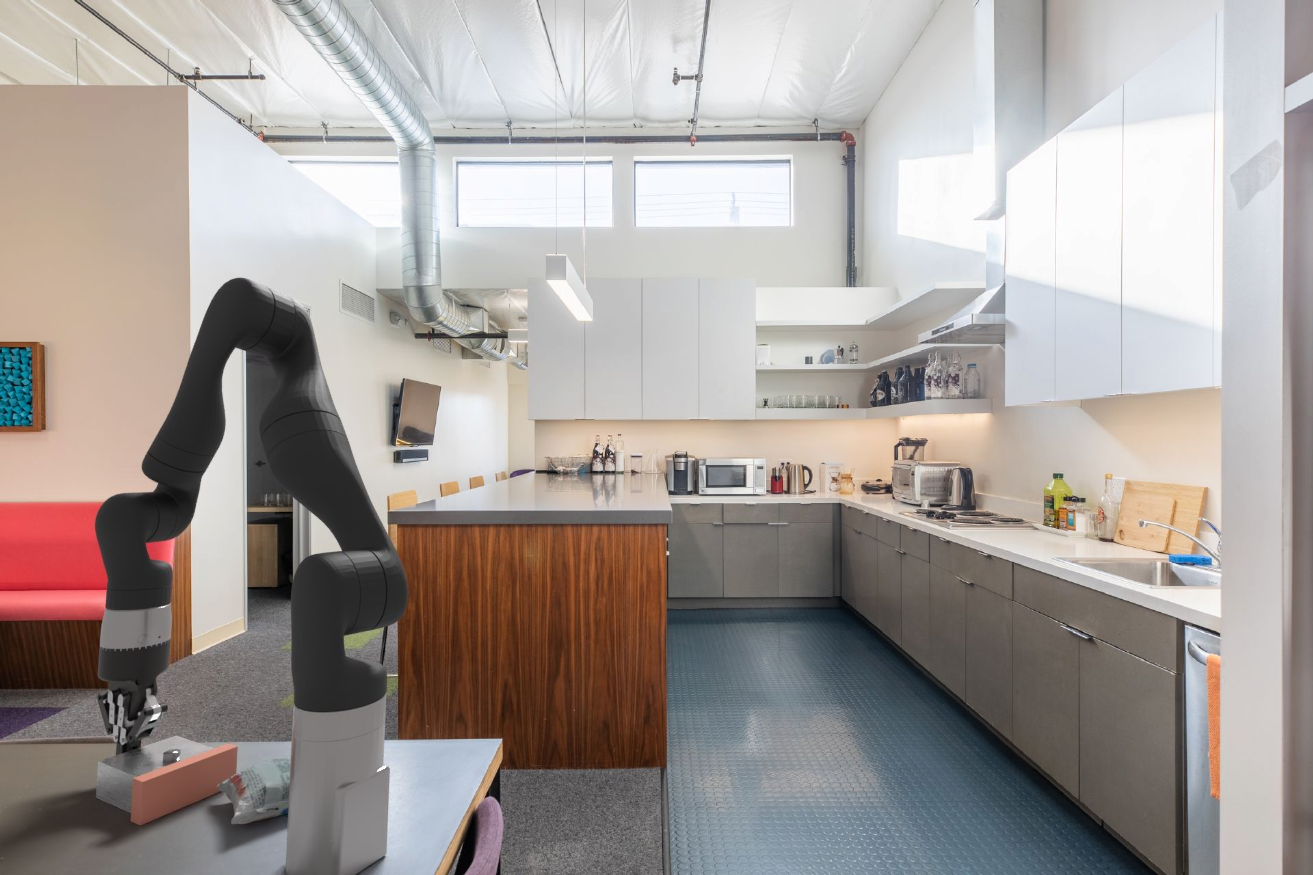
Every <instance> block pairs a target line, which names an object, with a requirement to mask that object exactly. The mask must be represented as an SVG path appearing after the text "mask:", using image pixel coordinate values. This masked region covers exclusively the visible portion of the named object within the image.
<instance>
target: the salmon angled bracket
mask: <svg viewBox="0 0 1313 875" xmlns="http://www.w3.org/2000/svg"><path fill="white" fill-rule="evenodd" d="M213 748H214V749H212V750H209V751H206V752H203V753H201V754H198V755H195V756H193V757H190V758H187V759H184V760H182V761H179V762H176V763H173V764H171V765H168V766H165V767H162V768H160V769H157V770H154V771H151V772H149V773H146V774H143V775H140V776H138V777H135V778H133V790H132V806H131V813H130V822H131V823H134V824H136V825H138V826H142V825H146V824H147V823H149V822H152V821H154V820H157V819H159V818H161V817H164V816H165V815H168V814H170V813H173V812H175V811H177V810H180V809H182V808H184V807H187V806H189V805H192V804H194V803H196V802H199V801H201V800H203V799H205V798H208V797H210V796H213V795H215V794H217V793H221V791H220V790H219V789H218V788H217V786H218V785H219V784H221V783H222V782H224V781H225V780H227V779H230V778H231V776H233V775H235V774H236V773H237V770H238V769H237V768H238V767H237V766H238V765H237V764H238V748H239V747H238V745H234V744H231V743H226V744H223V745H221V746H218V747H213Z"/></svg>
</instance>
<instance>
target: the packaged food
mask: <svg viewBox="0 0 1313 875" xmlns="http://www.w3.org/2000/svg"><path fill="white" fill-rule="evenodd" d="M290 763H291V758H275V759H271V760H266V761H264V762H260V763H256V764H253V765H252V766H250V767H248V768H245V769H243V770H240V771H239V772H236V774H235V775H233V776H231V778H230V779H227V780H225V781H224V782H222V783H221V784H219V785H218V786H217V788H218V789H219V790H220V792H222V793H224V794H225V797H226V798H228V800H229V801H230V802H231V804H232V805H233V806H232V807H233V813H234V815H233V817H232V818H231V822H230V823H231V825H236V824H238V825H245V824H250V823H255V822H259V821H263V820H268V819H271V818H272V819H273V818H276V817H279V816H283V815H288V804H289V783H290Z"/></svg>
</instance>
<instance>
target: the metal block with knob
mask: <svg viewBox="0 0 1313 875" xmlns="http://www.w3.org/2000/svg"><path fill="white" fill-rule="evenodd" d="M214 748H215V747H211V746H208V745H207V744H203V743H199V742H197V741H194V740H192V739H191V740H190V739H188V738H185V737H182V736H179V735H174V736H170V737H168V738H165V739H162V740H159V741H157V742H156V741H155V742H153V743H150V744H146V745H144V746H141V747H140V748H137V749H134V750H131V751H128V752H125V753H122V754H119V755H116V754H115V755H114V756H110V757H107V758H104V759H101V760H98V761H97V772H96V773H97V774H96V775H97V776H96V790H95V791H96V792H95V798H96V799H98V800H100V801H102V802H104V803H106V804H109V805H111V806H114V807H115V808H118V809H120V810H122V811H124V812H125V813H129V814H131V806H132V790H133V778H135V777H138V776H140V775H143V774H146V773H149V772H151V771H154V770H157V769H160V768H162V767H165V766H168V765H171V764H173V763H176V762H179V761H182V760H184V759H187V758H190V757H193V756H195V755H198V754H201V753H203V752H206V751H209V750H212V749H214Z"/></svg>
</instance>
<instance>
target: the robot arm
mask: <svg viewBox="0 0 1313 875" xmlns="http://www.w3.org/2000/svg"><path fill="white" fill-rule="evenodd" d="M235 349H238V350H241V351H244V352H248V353H251V354H253V355H255V356H259V357H262V358H264V359H265V360H266V361H268V363H269V364H270V366H271V368H272V370H273V373H274V376H275V380H276V384H277V388H276V390H275V392H274V393H273V395H272V396H271V398H270V399H269V401H268V403H267V405H266V406H265V408H264V410H263V412H262V414H261V417H260V420H259V426H258V428H259V429H258V430H259V436H260V440H261V444H262V447H263V450H264V453H265V457H266V460H267V464H268V467H269V469H270V472H271V475H272V477H273V478H274V480H276V482H277V483H278V484H279V485H280V487H282V488H283V490H284V491H285V492H286V493H287V494H288V495H290V496H291V497H292V498H293V499H294V500H296V502H298V503H300V505H301V506H303V507H304V508H305V509H306V510H308V511H309V512H310V513H311V514H313V515H314V517H316V518H317V519H319V521H321V522H322V523H323V524H324V525H325V526H326V527H327V528H328V530H329V531H330V533H331V534H332V536H333V537H334V538H335V540H336V542H337V543H338V545H339V548H340V549H341V550H337V551H328V552H326V551H325V552H319V553H314V554H310V555H308V556H306V557H305V558H304V559H303V560H302V561H301V562H300V563H299V564H298V566H297V568H296V570H295V573H294V575H293V578H292V584H291V592H290V593H291V594H290V595H291V596H290V629H291V642H290V643H291V644H290V645H291V647H290V648H291V649H290V650H291V651H290V652H291V655H290V656H291V657H290V665H291V667H290V670H291V671H290V672H291V677H292V684H293V707H292V708H293V709H292V711H293V712H292V725H291V726H292V729H291V730H292V732H291V745H290V746H291V748H290V759H291V763H290V783H289V804H288V814H287V825H286V826H287V827H286V828H287V829H286V856H285V872H286V875H357V874H358V873H360V872H362V871H363V870H365V869H366V868H368V867H369V866H371V865H372V864H374V863H375V862H377V861H378V860H380V859H381V858H383V857H384V856H386V855H387V854H388V853H387V852H388V849H387V847H388V823H389V804H390V803H389V802H390V780H391V779H390V778H391V776H390V775H391V768H390V766H389V765H387V764H386V765H385V764H384V760H385V759H384V757H385V737H386V735H385V732H386V731H385V730H386V714H387V712H386V711H387V710H386V709H387V691H388V671H387V669H386V667H385V666H384V665H383V664H381V663H379V662H378V661H374V660H371V659H363V658H358V657H356V658H355V657H349V656H347V655H346V650H345V649H346V648H345V637H346V636H350V635H354V634H361V633H364V632H369V631H374V630H378V629H382V628H385V627H389V626H393V625H394V624H396V623H398V621H400V620H401V619H402V617H403V616H404V615H405V613H406V609H407V607H408V602H409V587H408V586H409V585H408V580H407V576H406V572H405V570H404V565H403V563H402V560H401V558H400V555H399V554H398V551H397V550H396V548H395V545H394V543H393V542H392V540H391V538H390V536H389V534H388V532H387V529H386V527H385V526H384V524H383V522H382V520H381V518H380V516H379V514H378V512H377V511H376V509H375V506H374V504H373V501H372V500H371V498H370V496H369V493H368V490H367V488H366V485H365V483H364V480H363V478H362V475H361V474H360V473H361V472H360V469H359V468H358V465H357V463H356V462H357V461H356V459H355V456H354V454H353V450H352V447H351V444H350V441H349V438H348V435H347V434H346V430H345V428H344V425H343V422H342V420H341V417H340V416H339V413H338V411H337V409H336V406H335V403H334V399H333V397H332V394H331V391H330V387H329V385H328V381H327V378H326V376H325V373H324V369H323V366H322V362H321V358H320V354H319V349H318V344H317V339H316V335H315V330H314V327H313V322H312V319H311V317H310V314H309V312H308V310H307V309H306V308H305V306H304V305H303V304H302V303H301V302H299V301H297V300H296V299H294V298H292V297H291V296H288V295H286V294H284V293H281V291H280V292H279V291H277V290H275V289H272V288H271V287H269V286H266V285H264V284H261V283H259V282H256V281H254V280H252V279H249V278H246V277H235V278H232V279H229V280H228V281H225V283H223V284H222V285H221V286H220V287H219V288H218V289H217V291H216V293H214V295H213V297H212V299H211V300H210V303H209V304H208V307H207V309H206V310H205V314H204V315H203V318H202V322H201V325H200V327H199V329H198V333H197V335H196V337H195V341H194V343H193V347H192V349H191V351H190V354H189V358H188V361H187V363H186V367H185V370H184V373H183V376H182V379H181V382H180V385H179V388H178V390H177V392H176V396H175V398H174V401H173V403H172V405H171V407H170V409H169V412H168V413H167V416H166V417H165V419H164V421H163V423H162V424H161V427H160V428H159V430H158V432H157V434H156V435H155V437H154V438H153V441H152V442H151V444H150V446H149V448H148V450H147V451H146V454H145V455H144V458H143V459H142V461H141V462H142V463H141V471H142V474H143V475H144V476H146V477H147V479H150V480H151V481H152V482H154V483H157V485H156V487H155V489H154V490H153V491H146V492H145V491H143V492H142V491H141V492H121V493H116V494H114V495H112V496H110V497H108V498H107V499H105V501H104V502H103V503H102V504H101V505H100V506H99V509H98V511H97V513H96V515H95V519H94V531H95V536H96V540H97V544H98V548H99V551H100V554H101V555H100V556H101V559H102V563H103V566H104V569H105V573H106V577H107V582H106V583H107V584H106V592H105V593H106V594H105V603H104V604H105V605H104V606H105V607H104V613H103V614H104V615H103V618H102V622H101V627H100V639H99V654H98V666H97V677H98V679H100V680H102V681H104V682H108V685H107V686H108V688H107V690H106V691H104V692H100V693H98V694H97V696H96V699H97V704H98V707H99V710H100V714H101V717H102V720H103V724H104V727H105V731H106V734H107V735H108V736H109V735H112V739H113V742H114V743H116V745H115V746H116V748H115V756H116V755H119V754H122V753H125V752H128V751H131V750H134V749H137V748H140V747H142V741H143V740H144V739H147V738H149V737H152V736H153V735H154V733H155V732H156V731H157V728H158V727H159V725H160V724H161V722H162V721H163V718H164V717H165V716H166V713H168V710H169V709H168V708H169V706H168V704H167V703H166V702H163V703H160V704H159V702H158V700H157V695H158V692H159V689H158V685H157V684H158V683H157V682H158V681H157V678H158V677H159V676H160V675H161V674H163V673H164V672H166V670H168V668H169V666H170V657H171V656H170V654H171V653H170V652H171V641H172V627H173V626H172V624H173V615H172V614H173V613H172V594H173V593H172V590H173V578H174V576H173V575H174V571H173V568H172V567H173V566H172V565H171V564H170V563H169V562H168V561H164V560H161V559H151V557H150V555H149V551H148V547H147V544H151V543H160V542H167V541H170V540H174V539H175V538H177V537H179V536H180V535H181V534H183V532H184V531H186V530H187V528H188V527H189V526H190V525H191V523H192V521H193V518H194V516H195V514H196V513H195V512H196V508H197V505H198V504H197V503H198V499H199V494H200V491H201V483H202V478H203V477H204V474H205V473H206V472H207V470H208V468H209V466H210V464H211V463H212V462H213V459H214V458H215V455H216V454H217V452H218V450H219V448H220V447H221V445H222V442H223V439H224V436H225V431H226V426H227V425H226V424H227V423H226V422H227V421H226V419H227V418H226V410H225V403H224V395H223V394H224V393H223V374H224V371H225V367H226V365H227V362H228V360H229V359H230V357H231V355H232V354H233V352H234V351H235Z"/></svg>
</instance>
